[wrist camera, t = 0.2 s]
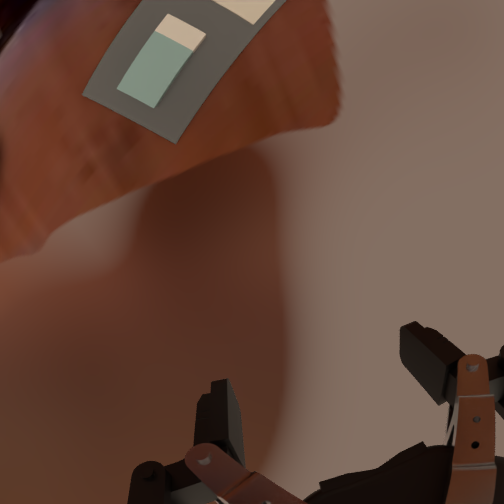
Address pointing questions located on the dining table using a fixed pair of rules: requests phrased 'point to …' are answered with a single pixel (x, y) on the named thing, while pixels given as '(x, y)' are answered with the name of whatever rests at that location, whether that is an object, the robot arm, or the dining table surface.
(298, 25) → the dining table surface
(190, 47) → the two-tone rectangular block
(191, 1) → the mat
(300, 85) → the dining table surface
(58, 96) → the dining table surface
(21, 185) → the dining table surface
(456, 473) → the robot arm
